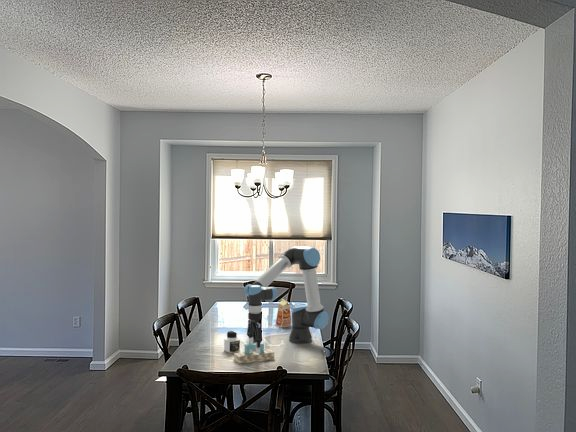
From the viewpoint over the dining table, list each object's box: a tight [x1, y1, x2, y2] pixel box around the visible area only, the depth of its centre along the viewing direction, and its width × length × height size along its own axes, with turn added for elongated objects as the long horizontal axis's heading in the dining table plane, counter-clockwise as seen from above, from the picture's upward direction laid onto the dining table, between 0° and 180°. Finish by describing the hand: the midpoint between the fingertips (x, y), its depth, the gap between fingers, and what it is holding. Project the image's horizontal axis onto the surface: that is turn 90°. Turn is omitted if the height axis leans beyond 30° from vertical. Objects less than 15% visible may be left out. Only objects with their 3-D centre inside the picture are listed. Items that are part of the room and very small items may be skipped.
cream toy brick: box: [233, 348, 275, 364], centre depth 315 cm, size 22×8×4 cm, turn 117°
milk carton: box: [274, 298, 292, 328], centre depth 406 cm, size 9×9×20 cm
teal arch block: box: [244, 342, 265, 355], centre depth 315 cm, size 11×3×8 cm, turn 117°
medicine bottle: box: [223, 330, 241, 354], centre depth 333 cm, size 7×7×12 cm
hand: (254, 350), depth 315 cm, fingers open, 9 cm apart
